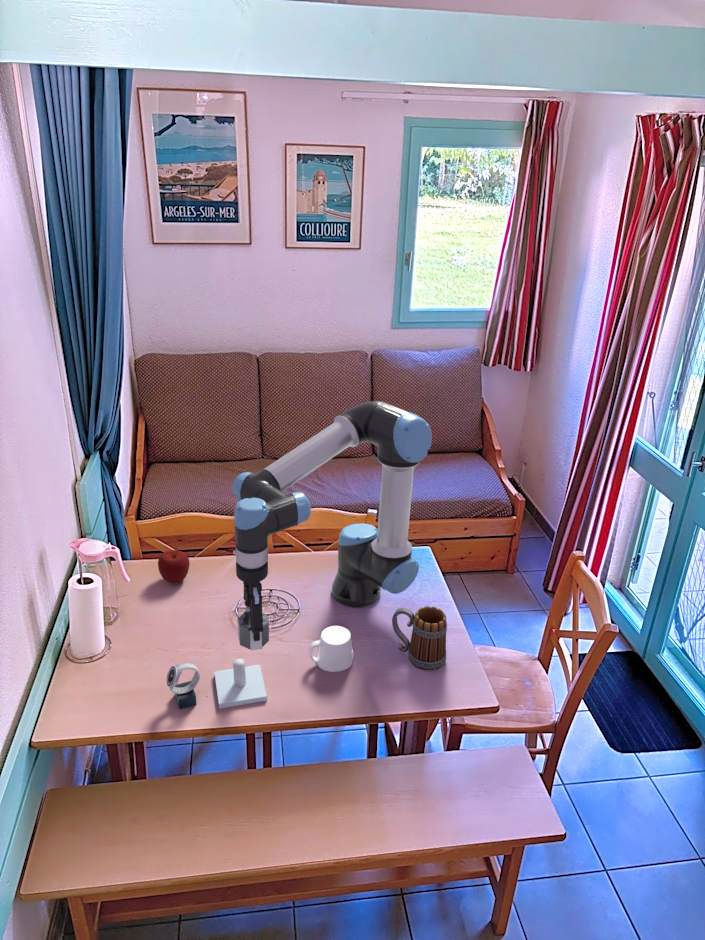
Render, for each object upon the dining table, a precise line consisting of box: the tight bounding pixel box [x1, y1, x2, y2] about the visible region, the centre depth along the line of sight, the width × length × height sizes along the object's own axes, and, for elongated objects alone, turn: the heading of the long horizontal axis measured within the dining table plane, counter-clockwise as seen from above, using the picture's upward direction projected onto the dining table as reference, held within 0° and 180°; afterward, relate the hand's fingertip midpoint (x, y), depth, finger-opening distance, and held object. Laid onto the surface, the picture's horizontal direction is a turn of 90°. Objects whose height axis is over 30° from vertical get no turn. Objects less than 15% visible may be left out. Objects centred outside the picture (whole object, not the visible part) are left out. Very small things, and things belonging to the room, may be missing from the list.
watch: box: [166, 661, 201, 710], centre depth 181 cm, size 6×8×11 cm
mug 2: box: [391, 605, 448, 672], centre depth 197 cm, size 16×11×15 cm
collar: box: [237, 611, 270, 650], centre depth 180 cm, size 7×7×6 cm
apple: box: [157, 549, 190, 585], centre depth 227 cm, size 10×10×10 cm
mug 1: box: [308, 625, 354, 673], centre depth 195 cm, size 12×9×8 cm
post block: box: [213, 658, 268, 709], centre depth 186 cm, size 12×12×8 cm
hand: (253, 638), depth 181 cm, fingers closed on collar, 7 cm apart
